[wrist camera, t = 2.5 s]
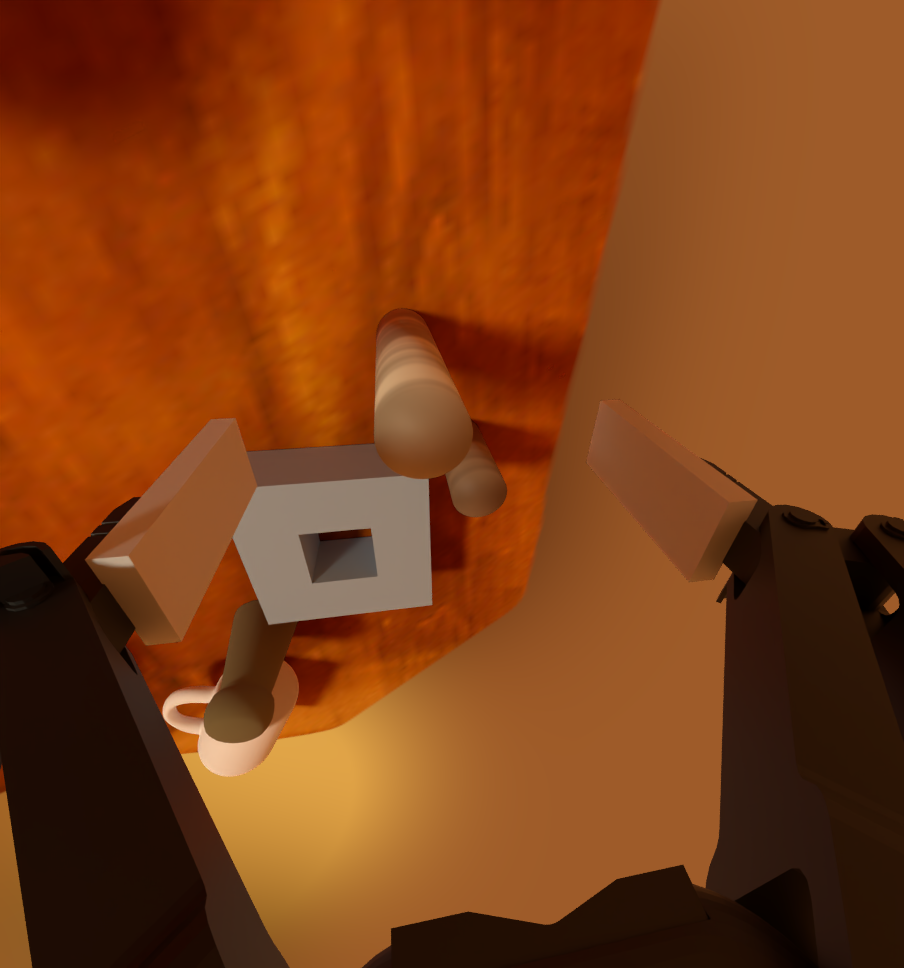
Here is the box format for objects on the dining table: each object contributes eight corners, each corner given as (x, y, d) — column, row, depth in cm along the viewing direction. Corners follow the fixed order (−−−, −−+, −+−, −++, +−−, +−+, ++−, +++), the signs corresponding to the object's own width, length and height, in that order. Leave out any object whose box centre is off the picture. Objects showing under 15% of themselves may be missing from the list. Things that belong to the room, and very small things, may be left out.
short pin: (436, 418, 30) (452, 473, 24) (481, 416, 31) (509, 469, 24) (436, 458, 32) (451, 519, 26) (479, 455, 33) (504, 514, 26)
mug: (304, 658, 44) (292, 733, 38) (282, 703, 49) (267, 778, 42) (186, 643, 40) (149, 725, 33) (173, 694, 44) (138, 776, 38)
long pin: (373, 308, 25) (368, 392, 13) (429, 307, 26) (475, 387, 13) (379, 364, 27) (379, 482, 15) (430, 362, 28) (471, 475, 15)
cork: (294, 598, 39) (269, 712, 30) (300, 635, 42) (279, 748, 33) (228, 600, 37) (181, 720, 28) (240, 639, 41) (200, 757, 32)
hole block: (236, 452, 29) (213, 490, 25) (421, 440, 31) (428, 473, 27) (280, 580, 37) (268, 624, 33) (426, 564, 39) (432, 604, 35)
